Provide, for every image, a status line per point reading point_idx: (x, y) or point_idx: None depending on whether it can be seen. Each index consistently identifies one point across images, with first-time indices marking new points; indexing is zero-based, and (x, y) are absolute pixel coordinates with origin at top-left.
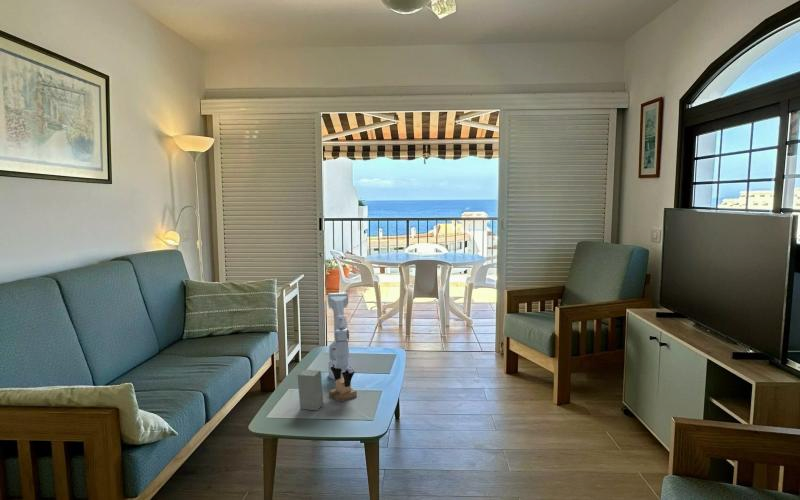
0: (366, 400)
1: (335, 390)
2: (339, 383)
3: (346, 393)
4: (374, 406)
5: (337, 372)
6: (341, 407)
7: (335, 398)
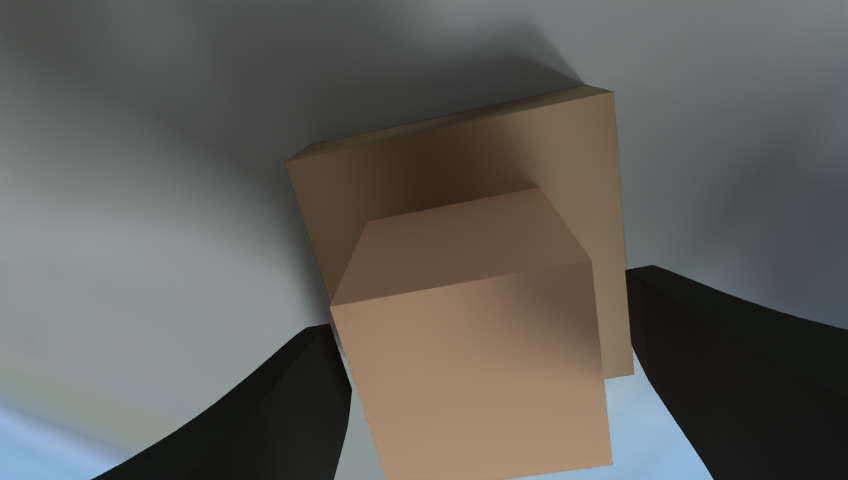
0: None
1: (545, 186)
2: (416, 276)
3: None
4: (54, 408)
5: (756, 450)
6: (129, 93)
7: (420, 123)
